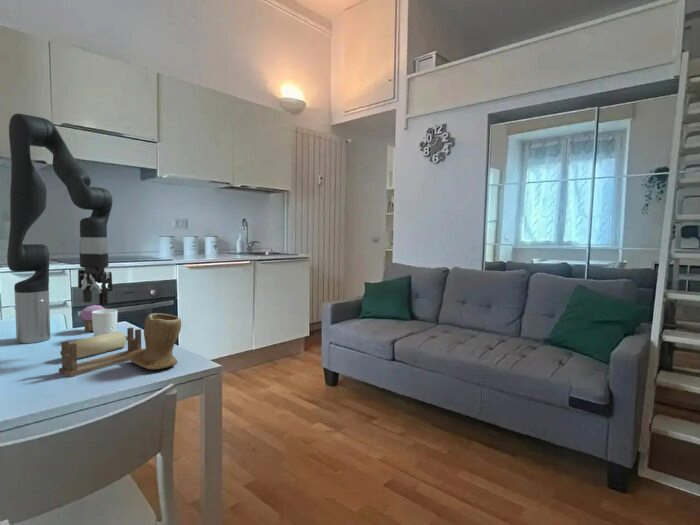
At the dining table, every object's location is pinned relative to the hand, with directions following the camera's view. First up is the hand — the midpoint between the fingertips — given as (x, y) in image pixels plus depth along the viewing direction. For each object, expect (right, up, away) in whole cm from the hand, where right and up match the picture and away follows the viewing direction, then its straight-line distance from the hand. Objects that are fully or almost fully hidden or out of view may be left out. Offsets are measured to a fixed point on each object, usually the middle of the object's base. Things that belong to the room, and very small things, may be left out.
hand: (95, 303), depth 125 cm
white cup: (-8, -15, +17) cm, 24 cm away
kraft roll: (0, -16, +1) cm, 16 cm away
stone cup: (+23, -17, -7) cm, 30 cm away
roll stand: (+8, -17, -8) cm, 20 cm away
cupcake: (-18, -14, +28) cm, 36 cm away
